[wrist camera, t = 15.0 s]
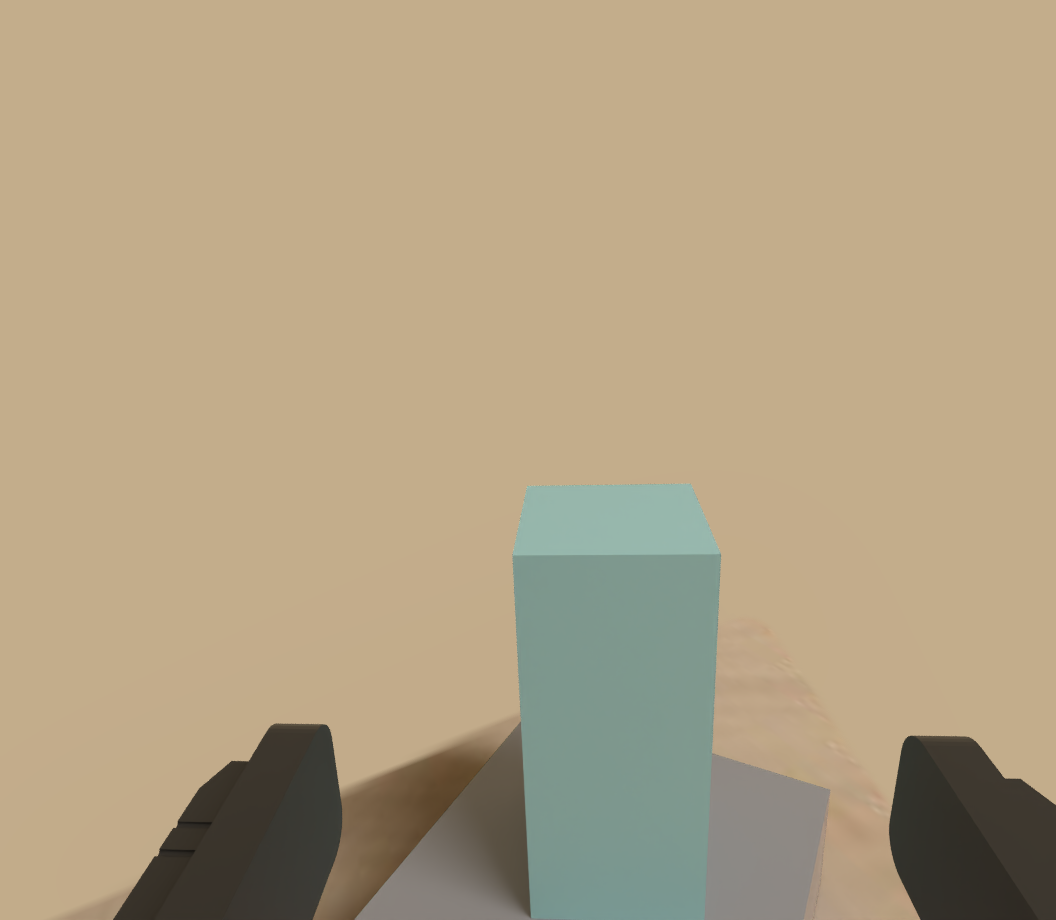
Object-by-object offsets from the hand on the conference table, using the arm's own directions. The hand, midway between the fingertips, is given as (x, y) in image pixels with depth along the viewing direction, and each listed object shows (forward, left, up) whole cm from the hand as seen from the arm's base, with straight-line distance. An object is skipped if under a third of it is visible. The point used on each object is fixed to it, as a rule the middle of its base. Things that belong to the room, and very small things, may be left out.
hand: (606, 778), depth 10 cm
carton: (-5, +13, -16) cm, 21 cm away
